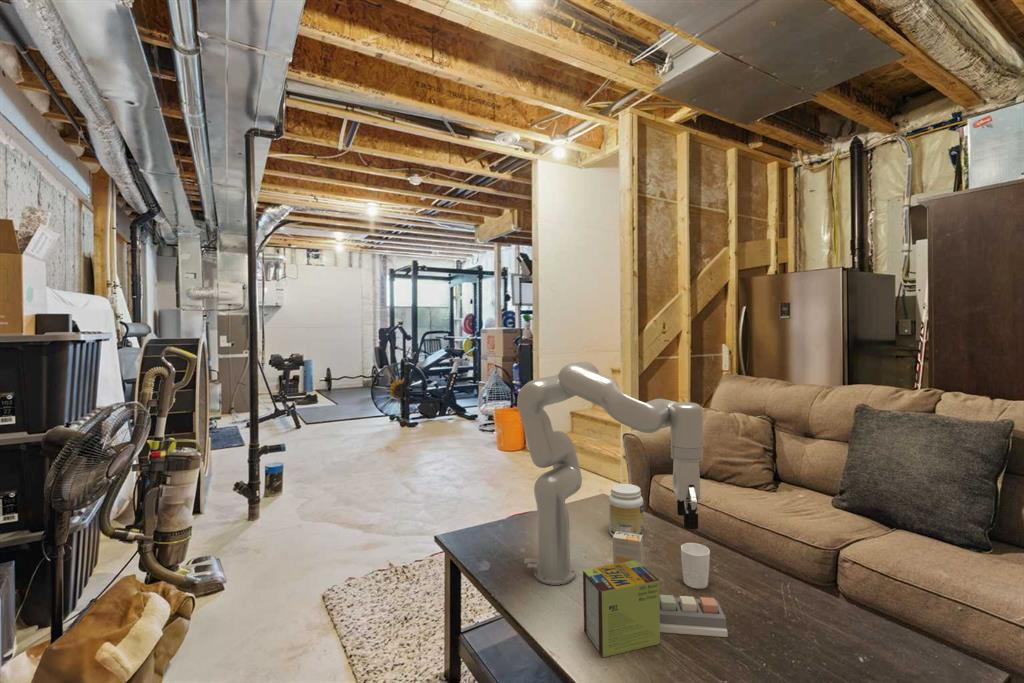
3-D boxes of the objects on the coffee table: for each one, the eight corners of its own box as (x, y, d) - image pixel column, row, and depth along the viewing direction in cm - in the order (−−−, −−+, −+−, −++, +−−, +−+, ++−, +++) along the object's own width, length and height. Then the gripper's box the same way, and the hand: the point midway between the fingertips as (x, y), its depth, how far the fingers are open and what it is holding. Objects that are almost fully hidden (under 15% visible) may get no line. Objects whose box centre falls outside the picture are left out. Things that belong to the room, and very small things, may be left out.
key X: (682, 612, 118) (682, 603, 118) (679, 604, 121) (679, 595, 121) (696, 613, 118) (696, 604, 117) (693, 605, 121) (693, 596, 121)
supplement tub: (648, 542, 163) (647, 493, 163) (613, 542, 164) (612, 494, 163) (639, 527, 176) (638, 482, 175) (606, 527, 176) (605, 482, 175)
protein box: (661, 644, 112) (660, 579, 111) (602, 658, 107) (601, 591, 107) (637, 618, 122) (636, 559, 121) (582, 630, 117) (581, 569, 117)
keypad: (658, 632, 116) (658, 616, 116) (652, 607, 126) (652, 593, 126) (727, 637, 113) (727, 621, 113) (716, 612, 123) (715, 597, 123)
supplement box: (644, 577, 141) (643, 534, 140) (641, 585, 136) (640, 541, 136) (616, 572, 144) (615, 530, 144) (613, 580, 140) (612, 536, 139)
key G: (703, 614, 117) (703, 604, 117) (700, 606, 121) (700, 597, 121) (717, 615, 117) (717, 605, 117) (714, 607, 120) (714, 597, 120)
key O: (661, 611, 119) (661, 602, 119) (659, 603, 122) (659, 594, 122) (676, 612, 118) (675, 603, 118) (673, 604, 122) (673, 595, 122)
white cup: (712, 591, 133) (712, 556, 132) (683, 588, 134) (683, 554, 134) (707, 576, 141) (706, 543, 140) (679, 574, 142) (678, 541, 142)
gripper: (665, 443, 127) (665, 507, 128) (678, 461, 110) (678, 536, 111) (694, 443, 126) (694, 508, 127) (711, 462, 109) (712, 537, 110)
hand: (687, 521), depth 119 cm, fingers open, 7 cm apart
